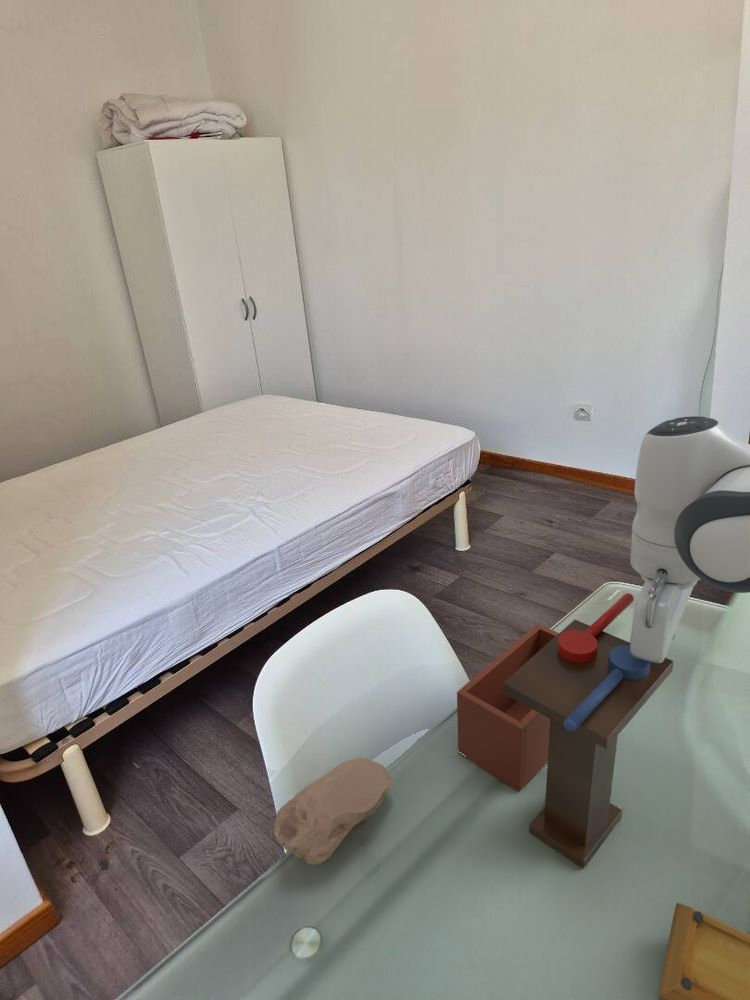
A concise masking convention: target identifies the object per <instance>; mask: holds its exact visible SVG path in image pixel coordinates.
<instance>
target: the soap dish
mask: <svg viewBox="0 0 750 1000" xmlns="http://www.w3.org/2000/svg"><path fill="white" fill-rule="evenodd" d="M665 951H666V952H665V955H664V956H665V957H664V962H663V966H662V971H661V976H660V982H659V985H658V993H657V995H658V997H659V998H660V999H662V1000H750V935H749V934H747V933H745V932H743V931H741V930H739V929H736V928H735V927H732V926H730V925H728V924H726V923H724V922H722V921H721V920H718V919H717V918H714V917H712V916H711V915H708V914H705V913H704V912H702V911H699V910H698V909H696V908H694V907H691V906H689V905H686V904H683V903H680V902H676V904H675V908H674V912H673V918H672V923H671V928H670V932H669V936H668V942H667V946H666V950H665Z"/></svg>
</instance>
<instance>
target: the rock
mask: <svg viewBox="0 0 750 1000" xmlns="http://www.w3.org/2000/svg"><path fill="white" fill-rule="evenodd" d="M393 783H394V782H393V778H392V777H391V776H390V774H389V772H388V770H387V769H386V768H385V766H384V764H381V763H379V762H377V761H374V760H371V759H369V758H367V757H366V758H364V757H356V758H352V759H350V760H346V761H344V762H342V763H340V764H338V765H336V766H335V767H334V768H332V769H331V770H330V771H328V772H327V773H325V774H323V776H321V777H319V778H317V779H316V780H314V781H312V782H311V783H309V784H308V785H306V786H305V787H303V788H302V789H301V790H300V791H298V792H297V793H296V794H295V795H294V796H293V797H292V798H291V799H289V800H288V801H287V802H286V803H284V805H282V806H281V807H280V808H279V810H278V811H277V813H276V816H275V818H274V824H273V825H274V828H273V835H274V838H275V841H276V842H278V843H279V844H280V845H282V847H283V848H284V850H286V851H287V852H289V853H291V854H293V855H294V856H296V857H297V858H299V859H301V860H303V861H304V862H305V863H307V864H309V865H313V866H316V865H320V864H322V863H324V862H326V861H327V860H328V859H329V858H331V857H333V853H334V852H335V851H336V850H337V848H338V847H339V846H340V844H341V843H342V842H343V840H344V839H345V837H347V835H349V833H350V832H351V830H352V829H353V827H355V826H356V825H358V824H359V823H361V822H365V821H366V820H367V819H369V818H370V817H371V816H372V815H373V814H375V812H376V811H377V809H379V807H380V806H381V804H382V802H383V800H384V799H385V797H386V795H387V794H388V793H389V791H390V789H391V787H392V786H393V785H394V784H393Z"/></svg>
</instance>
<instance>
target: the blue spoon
mask: <svg viewBox="0 0 750 1000" xmlns="http://www.w3.org/2000/svg"><path fill="white" fill-rule="evenodd" d="M650 664H651V662H650V661H646V660H642V659H638V658H635V657H633V656H632V654H631V652H630V645H621V646H616V647H614V648H613V649H611V651H610V652H609V658H608V667H609V669H610V670H611V672H610V673H609V674H608V675H607V676H606V678H605V679H604V680H603V681H602V682H601V683H600V684H599V685H598V686H597V687H596V688H595V689H594V690H593V691H592V692H591V693H590V694H589V695H588V696H587V697H586V698H585V700H584V701H583V702H582V703H581V704H580V705H579V706H578V707H577V708H576V709H575V710H574V711H573V712H572V713H571V714H570V715H569V716H568V717H567V718H566V719H565V721H564V727H565V729H566V730H568V731H575V730H576V729H577V728H578V727H579V726H580V725H581V723H582V722H583V721H584V720H585V719H586V718H587V717H588V716H589V715H590V714H591V713H592V712H593V710H594V709H595V708H596V707H597V706H598V705H599V704H600V703H601V702H602V701H603V700H604V699H605V697H606V696H607V695H608V694H609V693H610V692H611V691H612V690H613V689H614V688H615V687H616V686H617V684H618V683H619V682H620V681H621V680H622V679H623V678H624V679H628V680H638V679H642V678H644V677H646V676H647V675H648V674H649V671H650Z"/></svg>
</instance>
